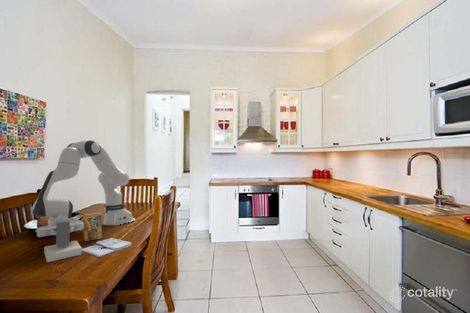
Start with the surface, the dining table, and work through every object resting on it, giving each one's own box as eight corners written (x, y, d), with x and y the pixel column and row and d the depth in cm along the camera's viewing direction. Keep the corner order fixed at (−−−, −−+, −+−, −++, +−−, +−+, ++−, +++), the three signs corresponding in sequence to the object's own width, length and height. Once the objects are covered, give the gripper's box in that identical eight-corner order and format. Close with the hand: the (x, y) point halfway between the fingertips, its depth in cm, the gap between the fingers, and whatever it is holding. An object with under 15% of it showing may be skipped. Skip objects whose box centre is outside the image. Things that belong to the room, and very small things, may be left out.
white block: (76, 246, 134) (76, 240, 134) (81, 254, 124) (81, 247, 124) (44, 253, 125) (44, 246, 125) (47, 262, 115) (47, 255, 115)
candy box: (101, 236, 151) (101, 212, 151) (101, 238, 147) (101, 213, 147) (84, 239, 147) (85, 214, 147) (84, 241, 143) (84, 215, 143)
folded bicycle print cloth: (132, 246, 138) (132, 242, 138) (97, 259, 120) (97, 254, 120) (112, 240, 147) (112, 236, 147) (77, 251, 130) (77, 247, 130)
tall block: (67, 242, 128) (67, 219, 128) (69, 244, 124) (69, 221, 124) (56, 244, 125) (56, 221, 125) (57, 247, 121) (57, 223, 121)
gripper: (35, 224, 127) (37, 230, 117) (80, 217, 141) (85, 222, 131) (35, 236, 127) (37, 243, 117) (80, 228, 141) (85, 234, 131)
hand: (63, 232), depth 124 cm, fingers closed on tall block, 5 cm apart
